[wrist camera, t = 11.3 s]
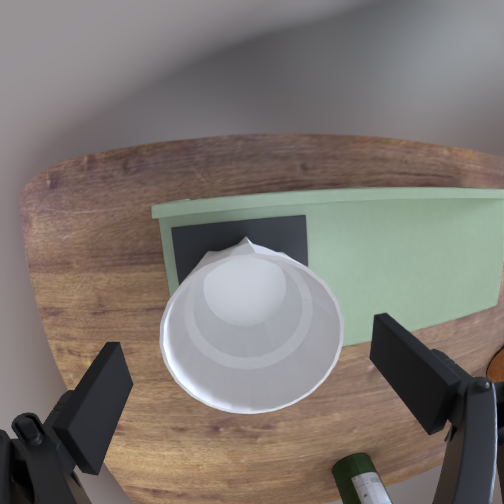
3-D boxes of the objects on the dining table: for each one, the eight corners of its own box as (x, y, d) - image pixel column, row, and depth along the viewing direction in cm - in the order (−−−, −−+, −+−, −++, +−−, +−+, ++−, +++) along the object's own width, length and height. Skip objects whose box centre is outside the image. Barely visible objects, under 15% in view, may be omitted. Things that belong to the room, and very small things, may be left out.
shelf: (193, 324, 35) (180, 377, 24) (176, 200, 32) (150, 206, 21) (458, 285, 37) (506, 310, 26) (462, 186, 34) (517, 190, 23)
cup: (280, 208, 24) (313, 223, 14) (317, 314, 26) (358, 377, 16) (165, 254, 24) (127, 296, 14) (214, 353, 26) (208, 429, 16)
